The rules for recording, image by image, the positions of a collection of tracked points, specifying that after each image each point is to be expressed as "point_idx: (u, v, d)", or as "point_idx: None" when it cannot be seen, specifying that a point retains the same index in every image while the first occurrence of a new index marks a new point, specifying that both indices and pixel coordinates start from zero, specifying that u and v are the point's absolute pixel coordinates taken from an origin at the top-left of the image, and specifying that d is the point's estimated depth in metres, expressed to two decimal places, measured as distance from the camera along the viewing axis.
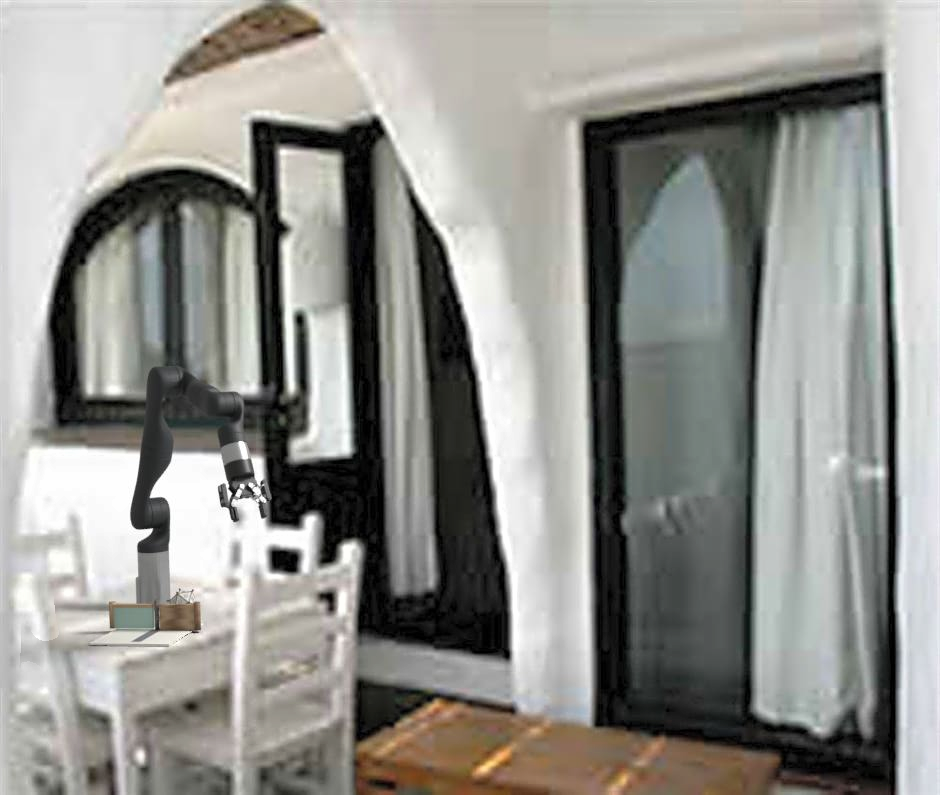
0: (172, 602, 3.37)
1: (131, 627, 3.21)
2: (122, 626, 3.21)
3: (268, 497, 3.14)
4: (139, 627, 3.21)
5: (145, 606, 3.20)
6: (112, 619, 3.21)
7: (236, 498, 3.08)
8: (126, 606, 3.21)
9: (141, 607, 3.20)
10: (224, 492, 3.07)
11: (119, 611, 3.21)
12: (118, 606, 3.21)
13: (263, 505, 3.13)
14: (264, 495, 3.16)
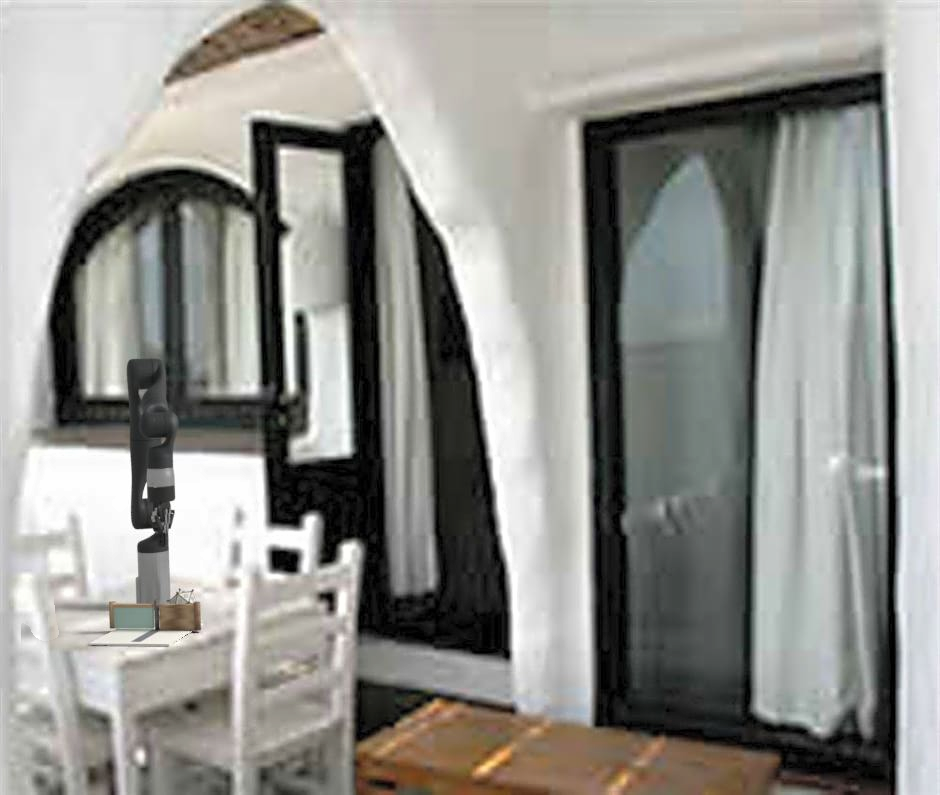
0: (172, 602, 3.37)
1: (131, 627, 3.21)
2: (122, 626, 3.21)
3: (169, 526, 3.27)
4: (139, 627, 3.21)
5: (145, 606, 3.20)
6: (112, 619, 3.21)
7: (165, 524, 3.23)
8: (126, 606, 3.21)
9: (141, 607, 3.20)
10: (159, 523, 3.20)
11: (119, 611, 3.21)
12: (118, 606, 3.21)
13: (166, 534, 3.25)
14: None
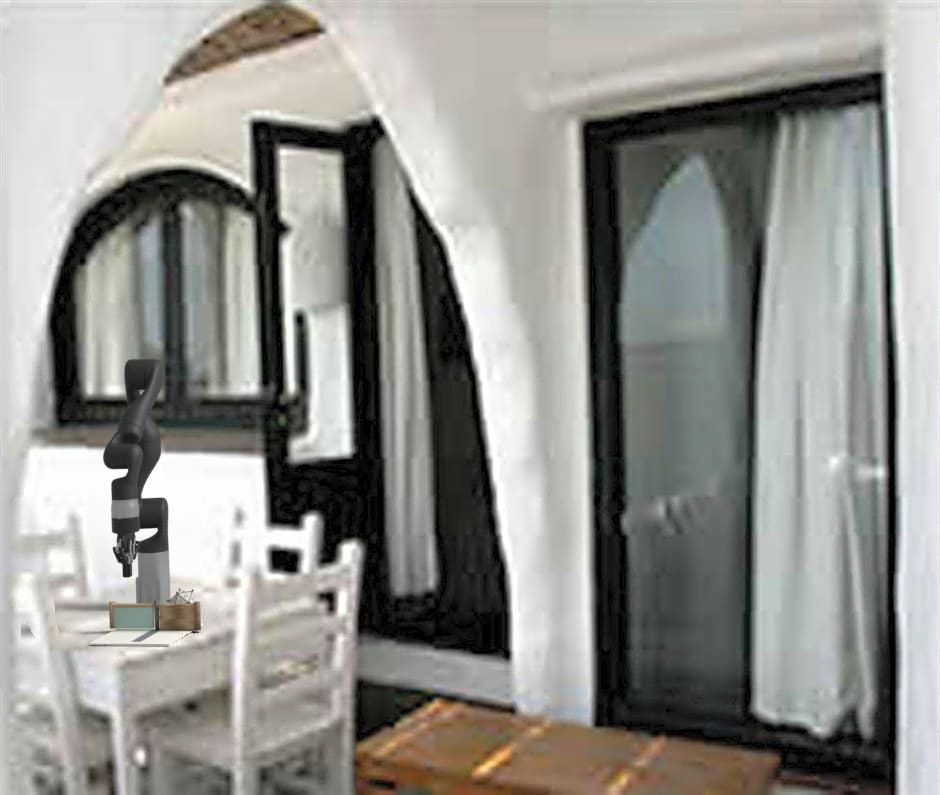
0: (172, 602, 3.37)
1: (131, 627, 3.21)
2: (122, 626, 3.21)
3: (134, 557, 3.28)
4: (139, 627, 3.21)
5: (145, 606, 3.20)
6: (112, 619, 3.21)
7: (130, 555, 3.25)
8: (126, 606, 3.21)
9: (141, 607, 3.20)
10: (123, 554, 3.22)
11: (119, 611, 3.21)
12: (118, 606, 3.21)
13: (131, 565, 3.26)
14: None
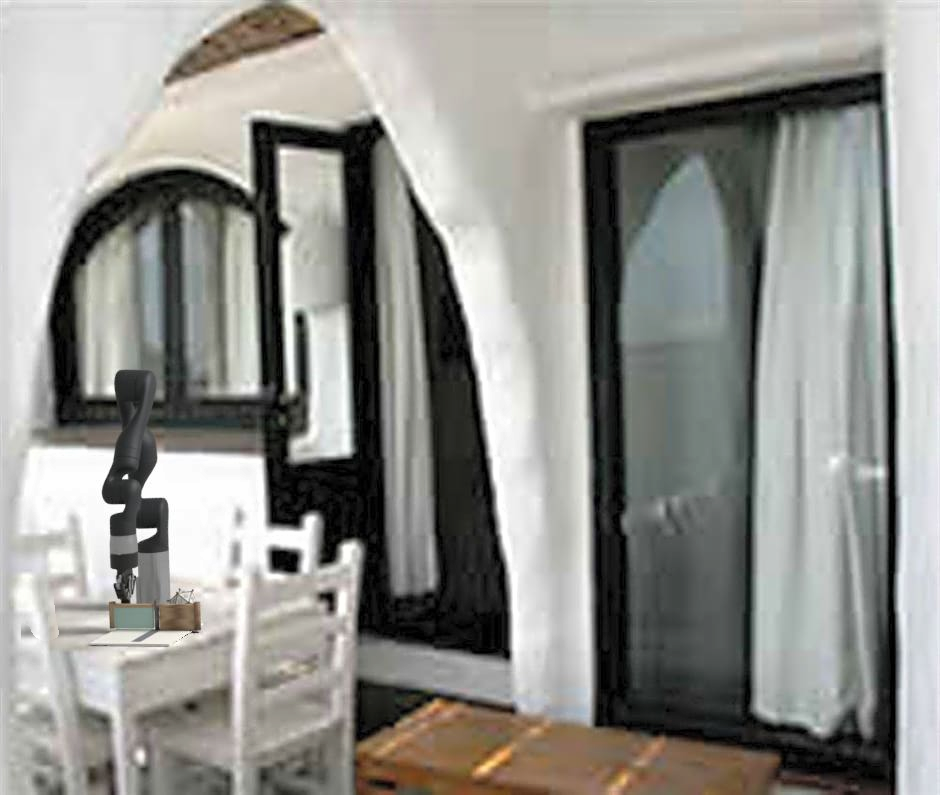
0: (172, 602, 3.37)
1: (131, 627, 3.21)
2: (122, 626, 3.21)
3: (132, 592, 3.27)
4: (139, 627, 3.21)
5: (145, 606, 3.20)
6: (112, 619, 3.21)
7: (129, 591, 3.24)
8: (126, 606, 3.21)
9: (141, 607, 3.20)
10: (124, 590, 3.20)
11: (119, 611, 3.21)
12: (118, 606, 3.21)
13: (129, 601, 3.25)
14: None
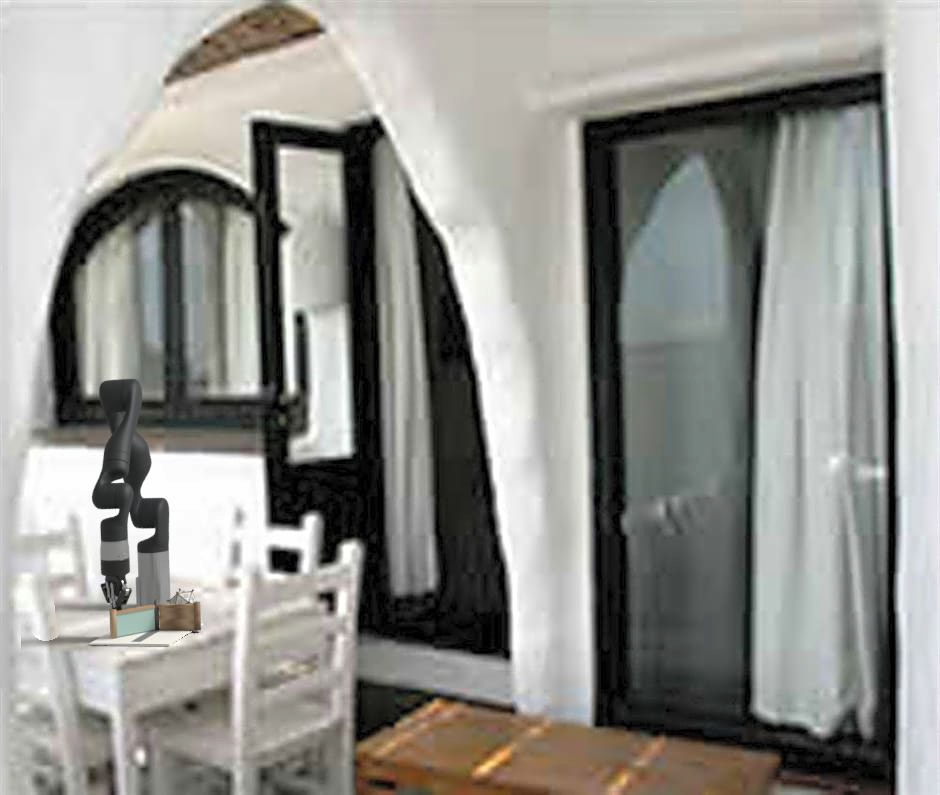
0: (172, 602, 3.37)
1: (134, 632, 3.15)
2: (125, 633, 3.13)
3: None
4: (142, 630, 3.17)
5: (148, 608, 3.18)
6: (115, 627, 3.11)
7: None
8: (130, 611, 3.14)
9: (144, 609, 3.17)
10: None
11: (122, 618, 3.13)
12: (122, 612, 3.12)
13: None
14: None
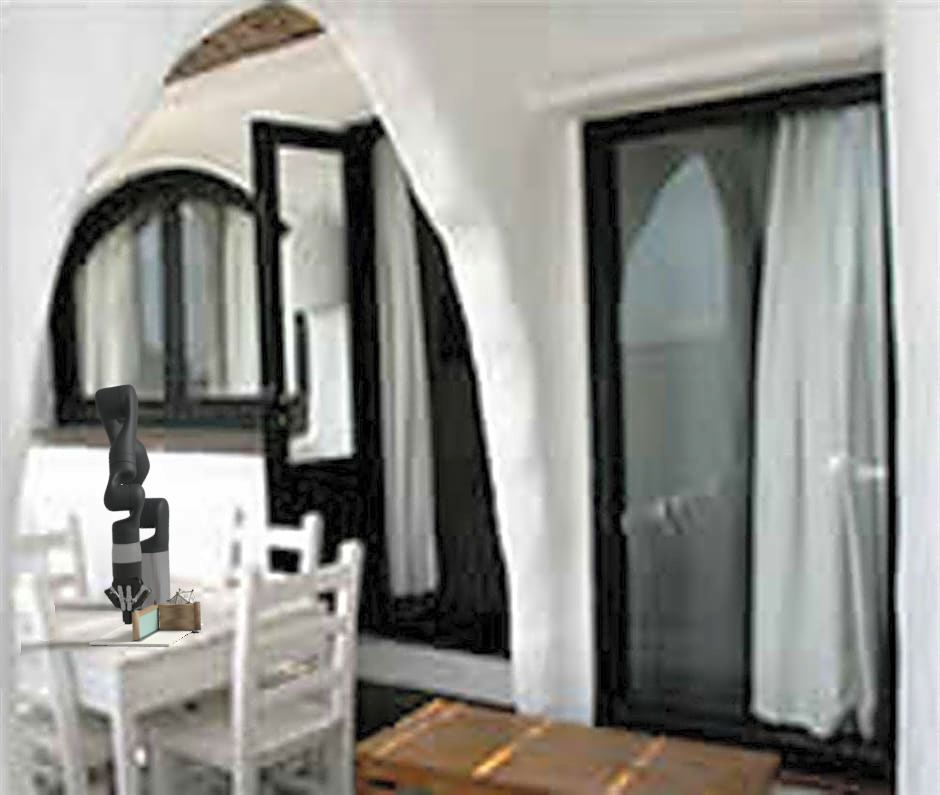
0: (172, 602, 3.37)
1: (147, 633, 3.13)
2: (143, 634, 3.11)
3: None
4: (151, 631, 3.16)
5: (154, 608, 3.17)
6: (139, 629, 3.08)
7: None
8: (145, 612, 3.12)
9: (152, 610, 3.16)
10: None
11: (141, 619, 3.10)
12: (142, 614, 3.10)
13: None
14: None
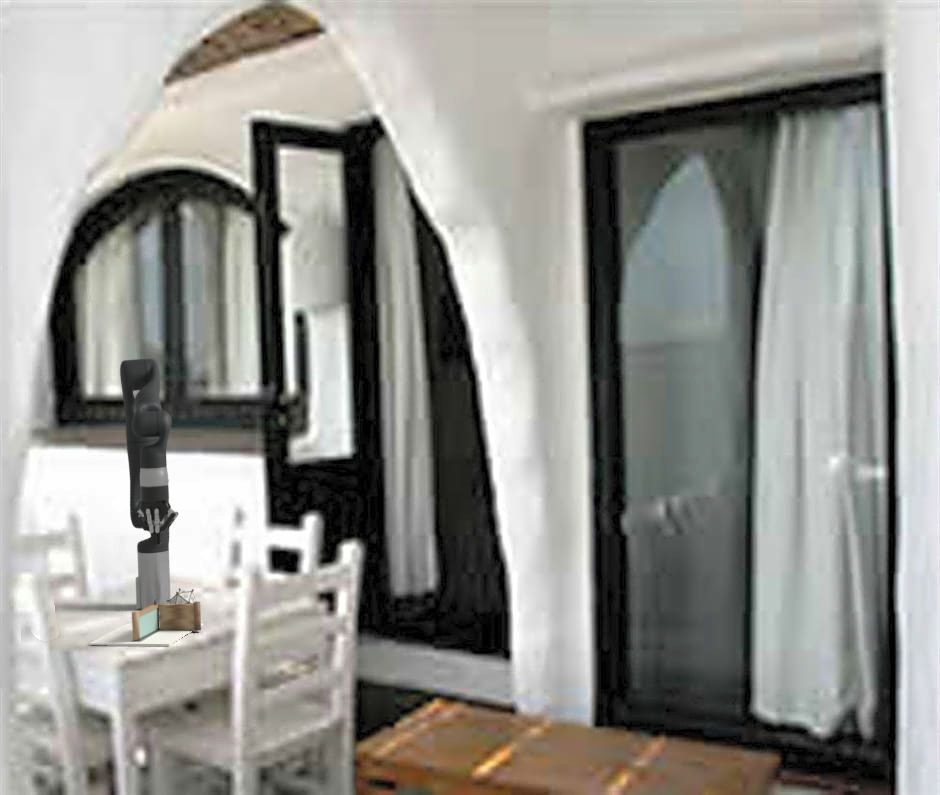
0: (172, 602, 3.37)
1: (147, 633, 3.13)
2: (143, 634, 3.11)
3: None
4: (151, 631, 3.16)
5: (154, 608, 3.17)
6: (139, 629, 3.08)
7: None
8: (145, 612, 3.12)
9: (152, 610, 3.16)
10: None
11: (141, 619, 3.10)
12: (142, 614, 3.10)
13: None
14: None
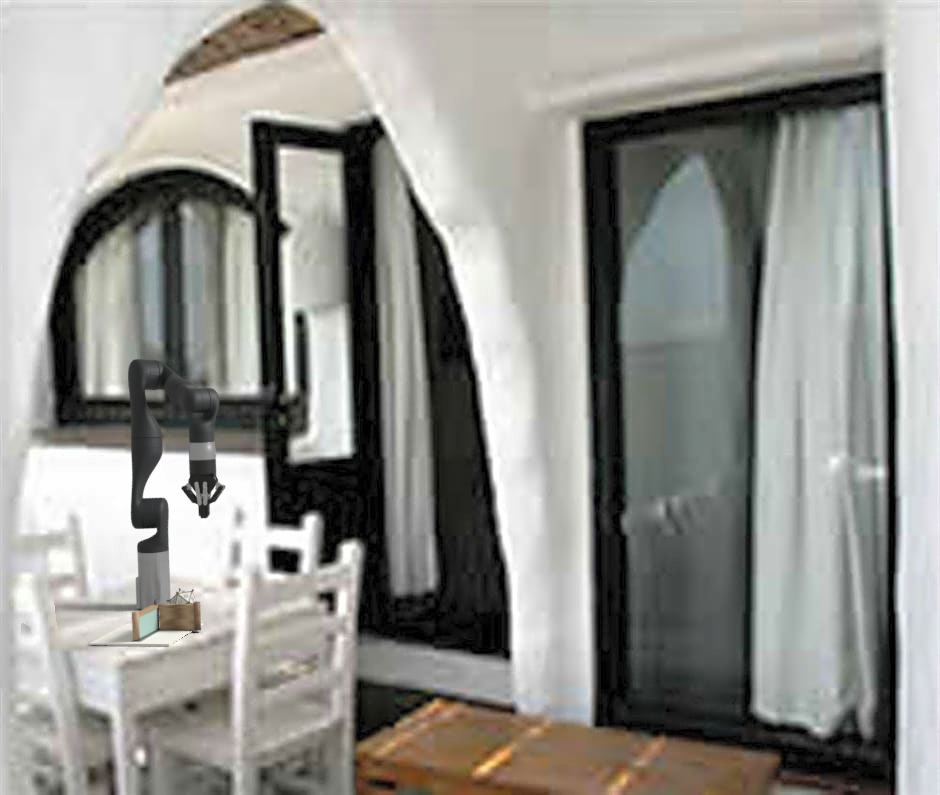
0: (172, 602, 3.37)
1: (147, 633, 3.13)
2: (143, 634, 3.11)
3: None
4: (151, 631, 3.16)
5: (154, 608, 3.17)
6: (139, 629, 3.08)
7: None
8: (145, 612, 3.12)
9: (152, 610, 3.16)
10: None
11: (141, 619, 3.10)
12: (142, 614, 3.10)
13: None
14: None
